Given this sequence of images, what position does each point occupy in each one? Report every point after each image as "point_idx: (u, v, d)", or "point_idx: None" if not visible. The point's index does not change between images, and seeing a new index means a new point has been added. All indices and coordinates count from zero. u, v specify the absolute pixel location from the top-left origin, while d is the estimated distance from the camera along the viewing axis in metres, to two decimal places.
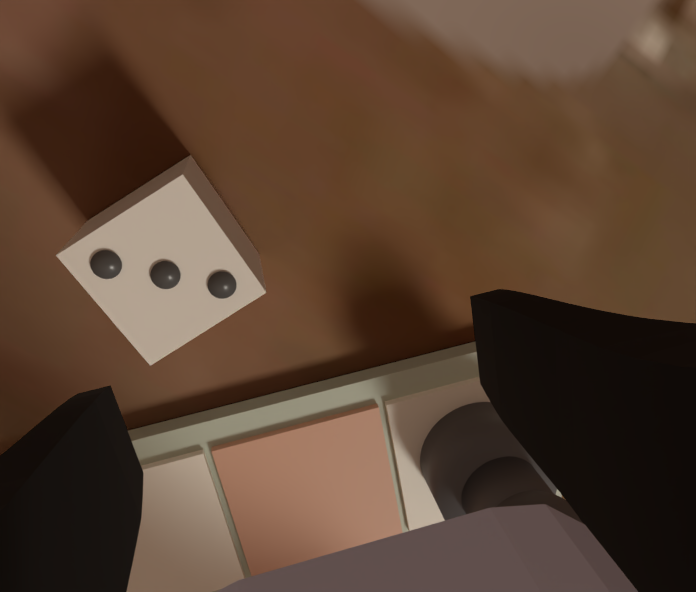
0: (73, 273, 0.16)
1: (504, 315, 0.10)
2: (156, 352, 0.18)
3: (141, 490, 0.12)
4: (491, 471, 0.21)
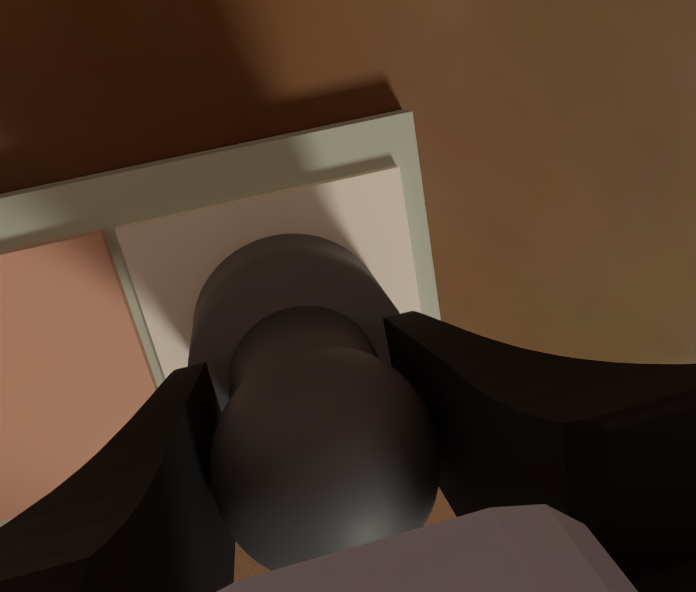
0: None
1: (404, 341, 0.10)
2: None
3: None
4: (269, 326, 0.11)
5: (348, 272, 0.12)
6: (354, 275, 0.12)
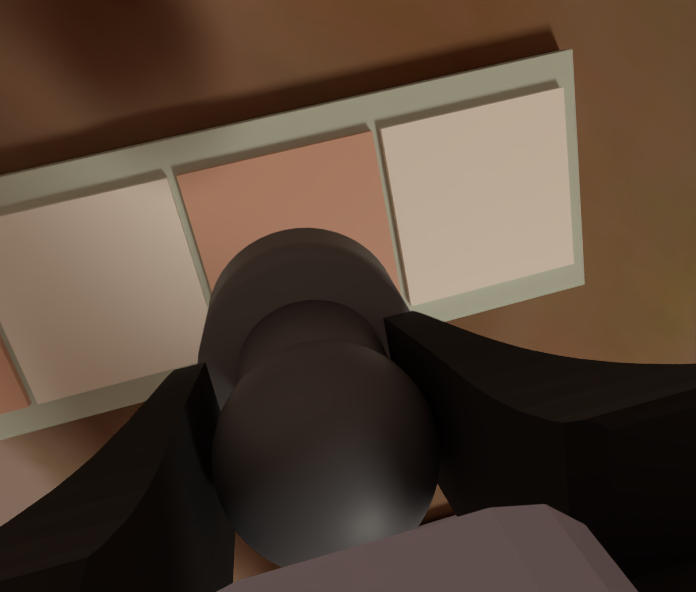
0: None
1: (405, 340, 0.10)
2: None
3: None
4: (277, 319, 0.11)
5: (357, 267, 0.12)
6: (363, 270, 0.12)
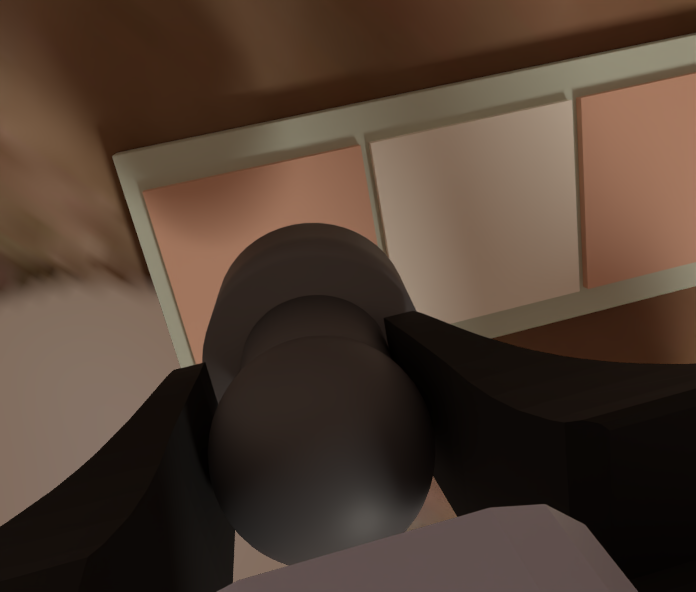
0: None
1: (405, 340, 0.10)
2: None
3: None
4: (280, 314, 0.11)
5: (361, 263, 0.12)
6: (367, 266, 0.12)
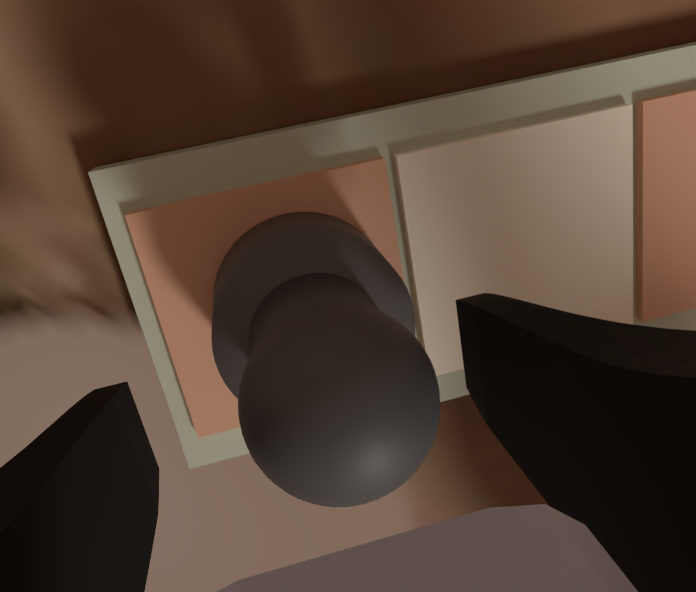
0: None
1: (487, 319, 0.10)
2: None
3: (157, 486, 0.12)
4: (286, 290, 0.13)
5: (356, 243, 0.13)
6: (362, 245, 0.13)
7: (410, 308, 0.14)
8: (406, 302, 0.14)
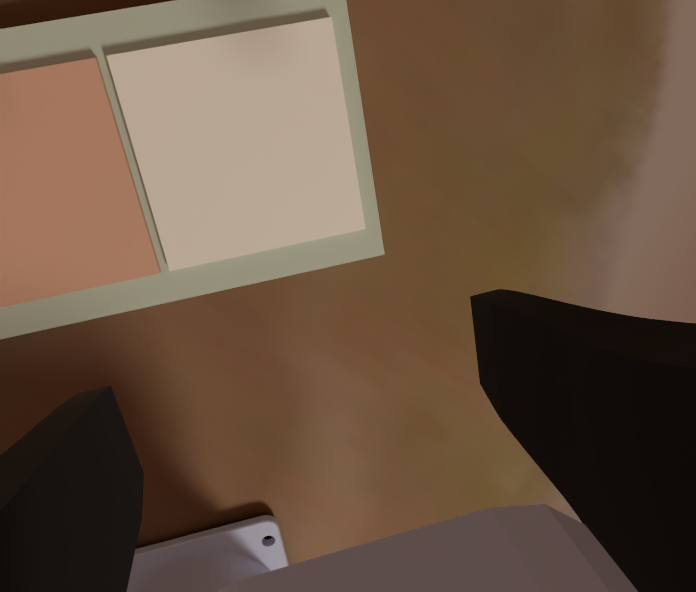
0: None
1: (504, 315, 0.10)
2: None
3: (141, 490, 0.12)
4: None
5: None
6: None
7: None
8: None
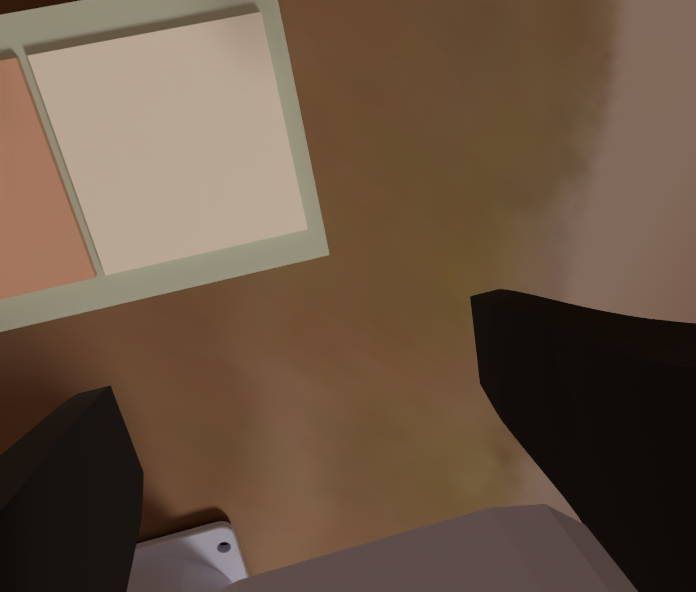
0: None
1: (504, 315, 0.10)
2: None
3: (141, 490, 0.12)
4: None
5: None
6: None
7: None
8: None
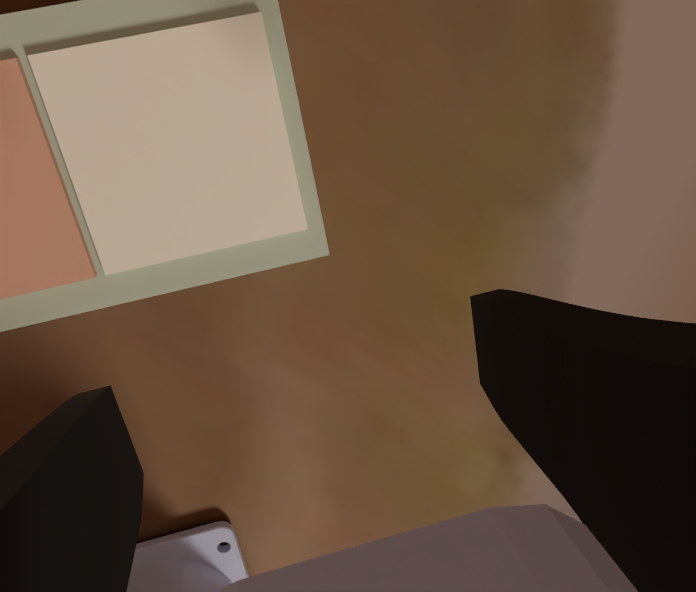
0: None
1: (504, 315, 0.10)
2: None
3: (141, 490, 0.12)
4: None
5: None
6: None
7: None
8: None
